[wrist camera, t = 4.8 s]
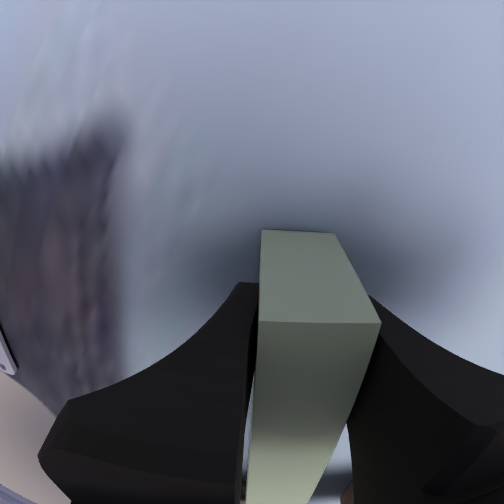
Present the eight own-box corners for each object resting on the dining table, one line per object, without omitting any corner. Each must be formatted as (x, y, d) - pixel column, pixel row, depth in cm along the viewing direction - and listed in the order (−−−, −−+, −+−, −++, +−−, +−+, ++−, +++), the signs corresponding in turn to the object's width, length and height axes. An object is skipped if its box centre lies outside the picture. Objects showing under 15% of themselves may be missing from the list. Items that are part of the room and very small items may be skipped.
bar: (247, 472, 17) (243, 538, 12) (261, 229, 10) (259, 320, 6) (284, 472, 17) (286, 539, 12) (334, 233, 10) (381, 322, 6)
